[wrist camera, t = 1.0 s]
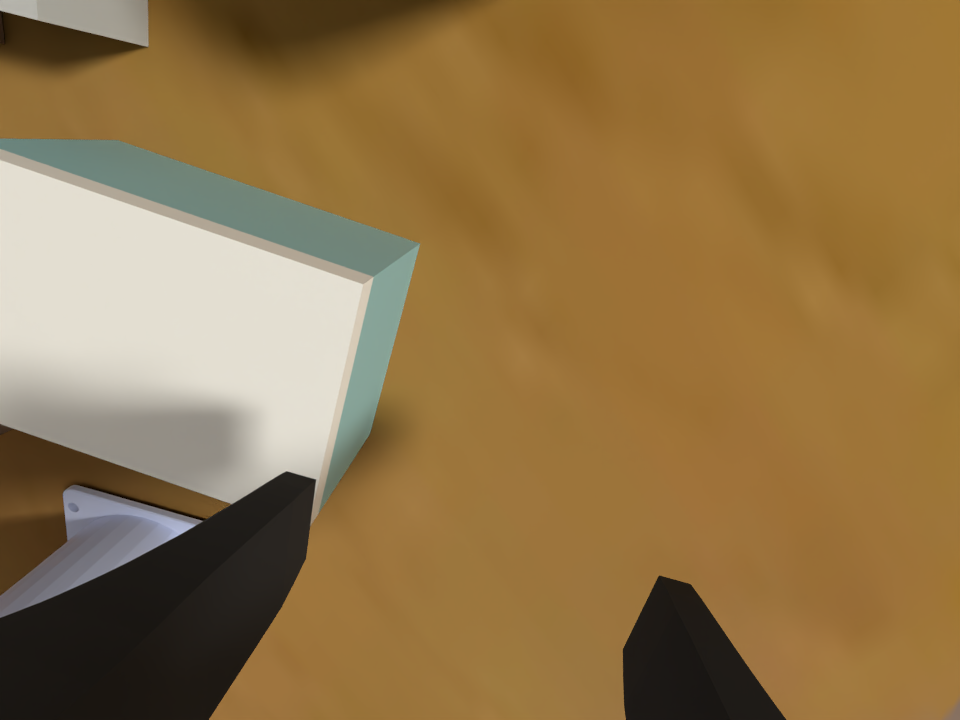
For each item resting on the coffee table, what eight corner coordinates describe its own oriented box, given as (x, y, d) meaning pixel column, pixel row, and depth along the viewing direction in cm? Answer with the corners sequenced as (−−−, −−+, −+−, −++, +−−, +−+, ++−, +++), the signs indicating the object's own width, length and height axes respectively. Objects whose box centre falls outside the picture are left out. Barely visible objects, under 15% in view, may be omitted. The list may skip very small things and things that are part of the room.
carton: (371, 431, 21) (307, 530, 16) (115, 343, 22) (-36, 411, 16) (421, 242, 18) (362, 284, 13) (121, 140, 18) (-64, 137, 13)
